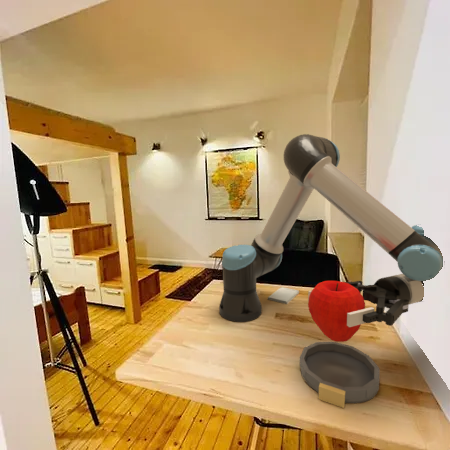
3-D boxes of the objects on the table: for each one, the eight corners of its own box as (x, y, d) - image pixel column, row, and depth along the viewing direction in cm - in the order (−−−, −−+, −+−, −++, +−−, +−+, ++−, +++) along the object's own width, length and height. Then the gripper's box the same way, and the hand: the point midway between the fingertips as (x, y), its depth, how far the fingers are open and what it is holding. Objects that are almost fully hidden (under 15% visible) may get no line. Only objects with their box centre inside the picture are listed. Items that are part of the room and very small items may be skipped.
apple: (297, 335, 63) (298, 281, 61) (326, 319, 70) (327, 270, 68) (345, 361, 54) (348, 298, 52) (373, 339, 61) (376, 283, 59)
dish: (290, 389, 60) (290, 377, 59) (309, 345, 75) (309, 335, 75) (378, 420, 51) (379, 406, 51) (379, 364, 67) (379, 353, 66)
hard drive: (287, 301, 101) (299, 290, 111) (267, 297, 106) (280, 286, 116) (287, 305, 101) (299, 293, 111) (267, 300, 106) (280, 290, 116)
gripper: (449, 328, 56) (372, 353, 49) (358, 288, 79) (295, 301, 72) (453, 294, 55) (373, 315, 48) (359, 263, 78) (295, 274, 71)
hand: (326, 307), depth 60 cm, fingers closed on apple, 12 cm apart
